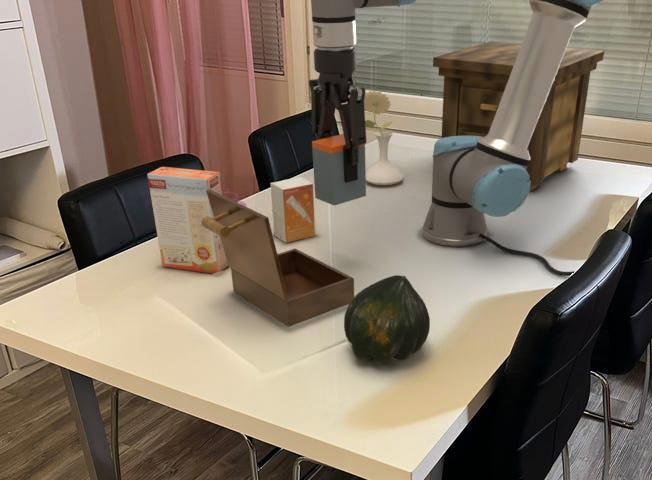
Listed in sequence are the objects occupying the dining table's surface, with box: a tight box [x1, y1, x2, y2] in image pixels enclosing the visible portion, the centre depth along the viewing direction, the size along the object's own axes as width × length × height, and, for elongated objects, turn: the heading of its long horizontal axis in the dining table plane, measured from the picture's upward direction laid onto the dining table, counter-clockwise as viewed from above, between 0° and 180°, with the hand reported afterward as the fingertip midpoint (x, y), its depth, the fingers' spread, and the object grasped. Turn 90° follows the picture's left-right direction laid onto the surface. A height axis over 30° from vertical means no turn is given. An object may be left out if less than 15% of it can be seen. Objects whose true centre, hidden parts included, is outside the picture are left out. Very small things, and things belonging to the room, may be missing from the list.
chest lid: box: [202, 189, 288, 301], centre depth 130 cm, size 16×20×6 cm
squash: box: [343, 274, 431, 365], centre depth 123 cm, size 14×15×15 cm
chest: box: [230, 248, 355, 327], centre depth 142 cm, size 16×20×6 cm
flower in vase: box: [364, 90, 404, 186], centre depth 201 cm, size 13×11×25 cm
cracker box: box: [146, 166, 229, 275], centre depth 153 cm, size 14×6×21 cm, turn 71°
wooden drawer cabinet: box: [432, 40, 605, 191], centre depth 207 cm, size 35×35×33 cm
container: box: [311, 133, 367, 206], centre depth 138 cm, size 8×6×11 cm
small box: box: [269, 176, 316, 244], centre depth 169 cm, size 8×6×13 cm
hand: (340, 176), depth 139 cm, fingers closed on container, 6 cm apart
